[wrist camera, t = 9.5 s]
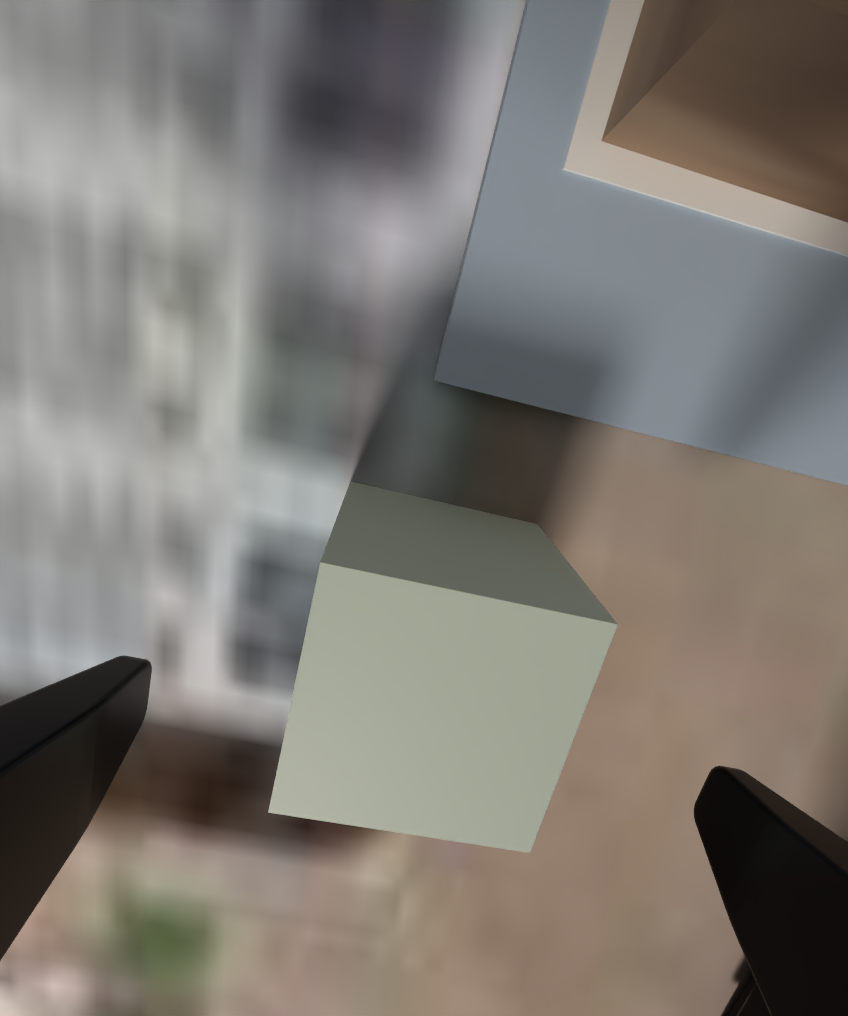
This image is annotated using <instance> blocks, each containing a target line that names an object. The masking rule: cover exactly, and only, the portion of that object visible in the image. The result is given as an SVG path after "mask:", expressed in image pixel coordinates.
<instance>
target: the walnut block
mask: <svg viewBox="0 0 848 1016" xmlns="http://www.w3.org/2000/svg"><path fill="white" fill-rule="evenodd" d="M601 141H603V142H606V143H609V144H612V145H615V146H618V147H621V148H624V149H627V150H630V151H633V152H636V153H639V154H642V155H645V156H648V157H651V158H654V159H657V160H660V161H663V162H666V163H669V164H672V165H675V166H678V167H681V168H684V169H687V170H690V171H693V172H696V173H699V174H702V175H705V176H708V177H711V178H714V179H717V180H720V181H723V182H726V183H729V184H732V185H735V186H738V187H741V188H744V189H747V190H750V191H754V192H757V193H760V194H763V195H766V196H769V197H772V198H775V199H778V200H781V201H784V202H787V203H790V204H793V205H796V206H799V207H802V208H805V209H808V210H811V211H814V212H817V213H820V214H823V215H826V216H829V217H832V218H835V219H838V220H841V221H844V222H847V223H848V0H644V3H643V7H642V10H641V13H640V16H639V20H638V23H637V26H636V29H635V33H634V36H633V39H632V42H631V46H630V49H629V52H628V56H627V59H626V62H625V65H624V69H623V72H622V75H621V78H620V82H619V85H618V88H617V91H616V95H615V98H614V101H613V104H612V108H611V111H610V114H609V118H608V121H607V124H606V127H605V131H604V134H603V137H602V140H601Z"/></svg>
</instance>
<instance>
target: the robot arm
mask: <svg viewBox="0 0 848 1016" xmlns="http://www.w3.org/2000/svg"><path fill="white" fill-rule="evenodd" d="M151 672H152V667H151V663H150V662H149V661H148V660H146V659H141V658H135V657H130V656H119V657H116V658H114V659H111V660H109V661H106V662H104V663H102V664H99V665H97V666H94V667H92V668H90V669H87V670H85V671H82V672H80V673H78V674H75V675H73V676H70V677H68V678H66V679H63V680H61V681H58V682H56V683H54V684H51V685H49V686H46V687H44V688H42V689H39V690H37V691H34V692H32V693H29V694H27V695H25V696H22V697H20V698H17V699H15V700H13V701H10V702H8V703H5V704H3V705H1V706H0V960H1V959H2V957H3V956H4V954H5V953H6V951H7V950H8V948H9V947H10V945H11V944H12V942H13V941H14V939H15V938H16V936H17V935H18V933H19V932H20V930H21V929H22V927H23V925H24V924H25V922H26V921H27V919H28V918H29V916H30V915H31V913H32V912H33V910H34V909H35V907H36V906H37V904H38V903H39V901H40V900H41V898H42V897H43V895H44V894H45V892H46V891H47V889H48V887H49V886H50V884H51V883H52V881H53V880H54V878H55V877H56V875H57V874H58V872H59V871H60V869H61V868H62V866H63V865H64V863H65V862H66V860H67V859H68V857H69V856H70V854H71V853H72V851H73V849H74V848H75V846H76V845H77V843H78V842H79V840H80V838H81V837H82V835H83V834H84V832H85V830H86V829H87V827H88V826H89V824H90V822H91V820H92V818H93V816H94V815H95V813H96V811H97V809H98V807H99V805H100V803H101V801H102V799H103V798H104V796H105V794H106V792H107V790H108V788H109V786H110V784H111V782H112V780H113V778H114V777H115V775H116V773H117V771H118V769H119V767H120V765H121V763H122V761H123V759H124V757H125V755H126V754H127V752H128V750H129V748H130V746H131V744H132V742H133V740H134V738H135V736H136V734H137V733H138V731H139V729H140V727H141V725H142V722H143V720H144V717H145V714H146V710H147V705H148V697H149V688H150V680H151ZM694 818H695V822H696V825H697V828H698V831H699V834H700V837H701V840H702V843H703V845H704V848H705V851H706V854H707V857H708V860H709V863H710V865H711V868H712V871H713V874H714V877H715V880H716V883H717V886H718V888H719V891H720V894H721V897H722V900H723V903H724V906H725V908H726V911H727V914H728V916H729V919H730V922H731V924H732V927H733V929H734V932H735V934H736V936H737V939H738V941H739V944H740V946H741V948H742V950H743V953H744V955H745V957H746V960H747V962H748V964H749V966H750V969H751V971H752V973H753V975H752V976H751V978H750V980H749V982H748V983H747V985H746V987H745V988H744V990H743V992H742V994H741V995H740V997H739V999H738V1001H737V1002H736V1004H735V1006H734V1008H733V1009H732V1011H731V1013H730V1014H729V1016H848V842H847V841H845V840H844V839H842V838H841V837H839V836H838V835H837V834H835V833H834V832H832V831H831V830H829V829H828V828H826V827H825V826H823V825H822V824H820V823H819V822H818V821H816V820H815V819H813V818H812V817H810V816H809V815H807V814H806V813H804V812H803V811H801V810H800V809H798V808H797V807H796V806H794V805H793V804H791V803H790V802H788V801H787V800H785V799H784V798H782V797H781V796H779V795H778V794H777V793H775V792H774V791H772V790H771V789H769V788H768V787H766V786H765V785H763V784H762V783H760V782H759V781H757V780H756V779H755V778H753V777H752V776H750V775H749V774H747V773H746V772H744V771H742V770H739V769H735V768H729V767H724V766H716V767H714V768H713V769H712V770H711V771H710V773H709V775H708V777H707V779H706V781H705V783H704V785H703V787H702V790H701V792H700V794H699V796H698V798H697V800H696V802H695V806H694Z"/></svg>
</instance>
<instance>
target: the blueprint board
mask: <svg viewBox="0 0 848 1016" xmlns="http://www.w3.org/2000/svg"><path fill="white" fill-rule="evenodd" d="M643 3H644V0H527V1H526V5H525V9H524V13H523V17H522V21H521V25H520V29H519V33H518V37H517V41H516V45H515V49H514V53H513V57H512V61H511V66H510V70H509V74H508V78H507V82H506V86H505V90H504V94H503V98H502V102H501V106H500V110H499V114H498V118H497V122H496V126H495V131H494V135H493V139H492V143H491V147H490V151H489V155H488V159H487V163H486V167H485V171H484V175H483V179H482V183H481V187H480V191H479V196H478V200H477V204H476V208H475V212H474V216H473V220H472V224H471V228H470V232H469V236H468V240H467V244H466V248H465V252H464V256H463V261H462V265H461V269H460V273H459V277H458V281H457V285H456V289H455V293H454V297H453V301H452V305H451V309H450V313H449V317H448V322H447V326H446V330H445V334H444V338H443V342H442V346H441V350H440V354H439V358H438V362H437V366H436V370H435V374H434V378H433V380H435V381H438V382H441V383H445V384H449V385H453V386H457V387H461V388H465V389H469V390H473V391H477V392H481V393H485V394H489V395H493V396H497V397H501V398H505V399H508V400H512V401H516V402H520V403H524V404H528V405H532V406H536V407H540V408H544V409H548V410H552V411H556V412H560V413H564V414H568V415H572V416H575V417H579V418H583V419H587V420H591V421H595V422H599V423H603V424H607V425H611V426H615V427H619V428H623V429H627V430H631V431H635V432H638V433H642V434H646V435H650V436H654V437H658V438H662V439H666V440H670V441H674V442H678V443H682V444H686V445H690V446H694V447H698V448H702V449H705V450H709V451H713V452H717V453H721V454H725V455H729V456H733V457H737V458H741V459H745V460H749V461H753V462H757V463H761V464H765V465H769V466H772V467H776V468H780V469H784V470H788V471H792V472H796V473H800V474H804V475H808V476H812V477H816V478H820V479H824V480H828V481H832V482H835V483H839V484H843V485H847V486H848V223H847V222H844V221H841V220H838V219H835V218H832V217H829V216H826V215H823V214H820V213H817V212H814V211H811V210H808V209H805V208H802V207H799V206H796V205H793V204H790V203H787V202H784V201H781V200H778V199H775V198H772V197H769V196H766V195H763V194H760V193H757V192H754V191H750V190H747V189H744V188H741V187H738V186H735V185H732V184H729V183H726V182H723V181H720V180H717V179H714V178H711V177H708V176H705V175H702V174H699V173H696V172H693V171H690V170H687V169H684V168H681V167H678V166H675V165H672V164H669V163H666V162H663V161H660V160H657V159H654V158H651V157H648V156H645V155H642V154H639V153H636V152H633V151H630V150H627V149H624V148H621V147H618V146H615V145H612V144H609V143H606V142H603V141H601V140H602V137H603V134H604V131H605V127H606V124H607V121H608V118H609V114H610V111H611V108H612V104H613V101H614V98H615V95H616V91H617V88H618V85H619V82H620V78H621V75H622V72H623V69H624V65H625V62H626V59H627V56H628V52H629V49H630V46H631V42H632V39H633V36H634V33H635V29H636V26H637V23H638V20H639V16H640V13H641V10H642V7H643Z"/></svg>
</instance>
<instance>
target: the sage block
mask: <svg viewBox="0 0 848 1016" xmlns="http://www.w3.org/2000/svg"><path fill="white" fill-rule="evenodd" d="M617 625H618V624H617V623H616V622H615V620H614V619H613V618H612V617H611V615H610V614H609V613H608V612H607V610H606V609H605V608H604V607H603V605H602V604H601V603H600V602H599V600H598V599H597V598H596V597H595V595H594V594H593V593H592V592H591V590H590V589H589V588H588V587H587V585H586V584H585V583H584V582H583V580H582V579H581V578H580V577H579V575H578V574H577V573H576V571H575V570H574V569H573V568H572V566H571V565H570V564H569V563H568V561H567V560H566V559H565V558H564V556H563V555H562V554H561V553H560V551H559V550H558V549H557V548H556V546H555V545H554V544H553V543H552V541H551V540H550V539H549V538H548V536H547V535H546V534H545V533H544V531H543V530H542V529H541V528H540V526H539V525H538V524H535V523H531V522H527V521H522V520H518V519H513V518H509V517H505V516H500V515H496V514H492V513H487V512H483V511H478V510H474V509H470V508H465V507H461V506H456V505H452V504H448V503H443V502H439V501H434V500H430V499H426V498H421V497H417V496H413V495H408V494H404V493H399V492H395V491H391V490H386V489H382V488H377V487H373V486H369V485H364V484H360V483H356V482H351V481H350V484H349V487H348V489H347V492H346V495H345V497H344V500H343V503H342V506H341V508H340V511H339V514H338V516H337V519H336V522H335V524H334V527H333V530H332V532H331V535H330V538H329V540H328V543H327V546H326V549H325V551H324V554H323V557H322V559H321V562H320V566H319V571H318V576H317V581H316V586H315V591H314V595H313V600H312V605H311V610H310V615H309V619H308V624H307V629H306V634H305V639H304V643H303V648H302V653H301V658H300V663H299V668H298V672H297V677H296V682H295V687H294V692H293V696H292V701H291V706H290V711H289V716H288V720H287V725H286V730H285V735H284V740H283V744H282V749H281V754H280V759H279V764H278V769H277V773H276V778H275V783H274V788H273V793H272V797H271V802H270V807H269V812H268V813H275V814H281V815H288V816H294V817H301V818H307V819H314V820H320V821H327V822H333V823H339V824H346V825H352V826H359V827H365V828H372V829H378V830H385V831H391V832H398V833H404V834H411V835H417V836H423V837H430V838H436V839H443V840H449V841H456V842H462V843H469V844H475V845H482V846H488V847H495V848H501V849H508V850H514V851H520V852H527V853H530V851H531V849H532V846H533V843H534V841H535V838H536V836H537V833H538V830H539V828H540V825H541V823H542V820H543V818H544V815H545V812H546V810H547V807H548V805H549V802H550V799H551V797H552V794H553V792H554V789H555V786H556V784H557V781H558V779H559V776H560V773H561V771H562V768H563V766H564V763H565V760H566V758H567V755H568V753H569V750H570V747H571V745H572V742H573V740H574V737H575V734H576V732H577V729H578V727H579V724H580V721H581V719H582V716H583V714H584V711H585V708H586V706H587V703H588V701H589V698H590V695H591V693H592V690H593V688H594V685H595V682H596V680H597V677H598V675H599V672H600V669H601V667H602V664H603V662H604V659H605V656H606V654H607V651H608V649H609V646H610V643H611V641H612V638H613V636H614V633H615V630H616V628H617Z"/></svg>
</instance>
